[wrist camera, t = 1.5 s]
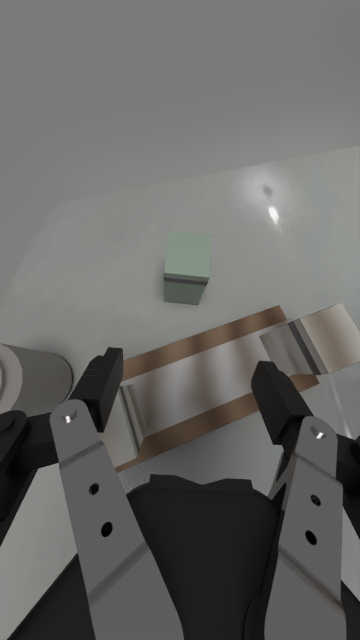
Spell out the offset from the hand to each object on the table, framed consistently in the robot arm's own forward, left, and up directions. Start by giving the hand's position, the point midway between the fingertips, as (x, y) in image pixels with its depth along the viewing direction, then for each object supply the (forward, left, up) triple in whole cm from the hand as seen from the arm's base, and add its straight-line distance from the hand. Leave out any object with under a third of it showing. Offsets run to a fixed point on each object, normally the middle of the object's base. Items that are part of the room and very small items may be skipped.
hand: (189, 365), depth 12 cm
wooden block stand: (-3, +2, -17) cm, 17 cm away
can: (+17, -5, -17) cm, 24 cm away
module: (-5, -12, -17) cm, 21 cm away
